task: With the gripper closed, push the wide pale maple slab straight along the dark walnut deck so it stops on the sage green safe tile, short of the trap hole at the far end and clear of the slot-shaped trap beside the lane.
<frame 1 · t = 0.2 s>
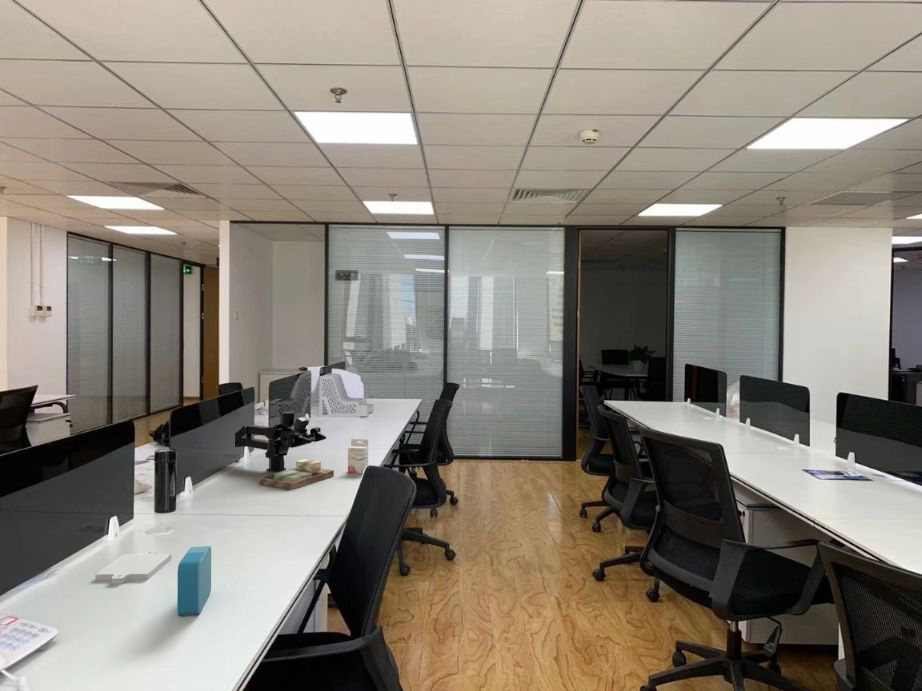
hand: (318, 439, 248), 17 cm above the table, tool horizontal, fingers open, 9 cm apart
maple slab: (308, 469, 252), point 2 cm above the table, touching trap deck
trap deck: (297, 479, 243), on the table
mounting plate: (135, 571, 149), on the table
ink cartridge box: (357, 472, 259), on the table
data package: (195, 605, 130), on the table
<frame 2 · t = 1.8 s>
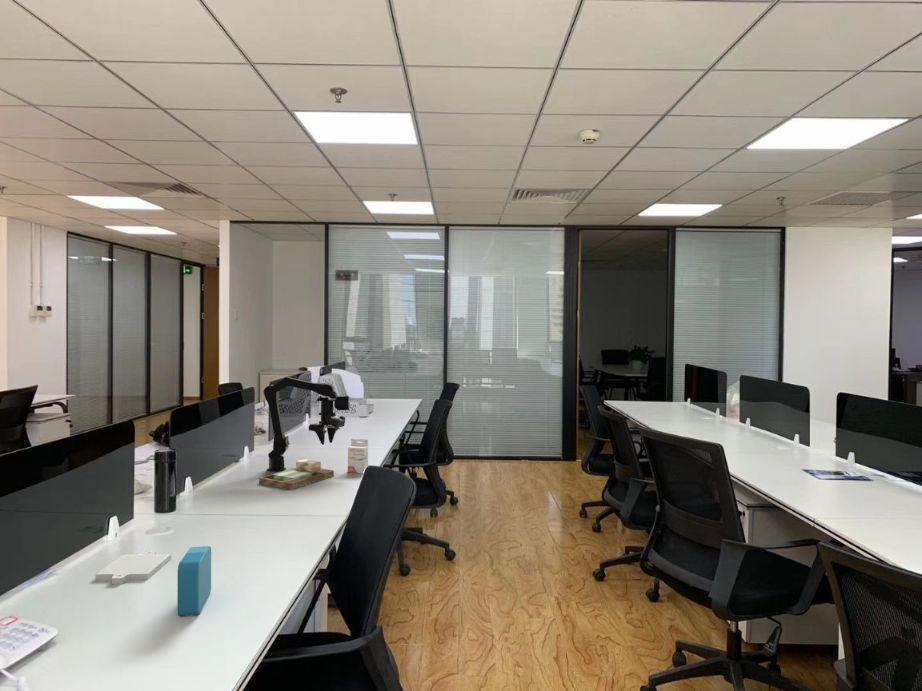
hand: (326, 443, 262), 12 cm above the table, tool pointing down, fingers open, 5 cm apart
nothing on the table moved.
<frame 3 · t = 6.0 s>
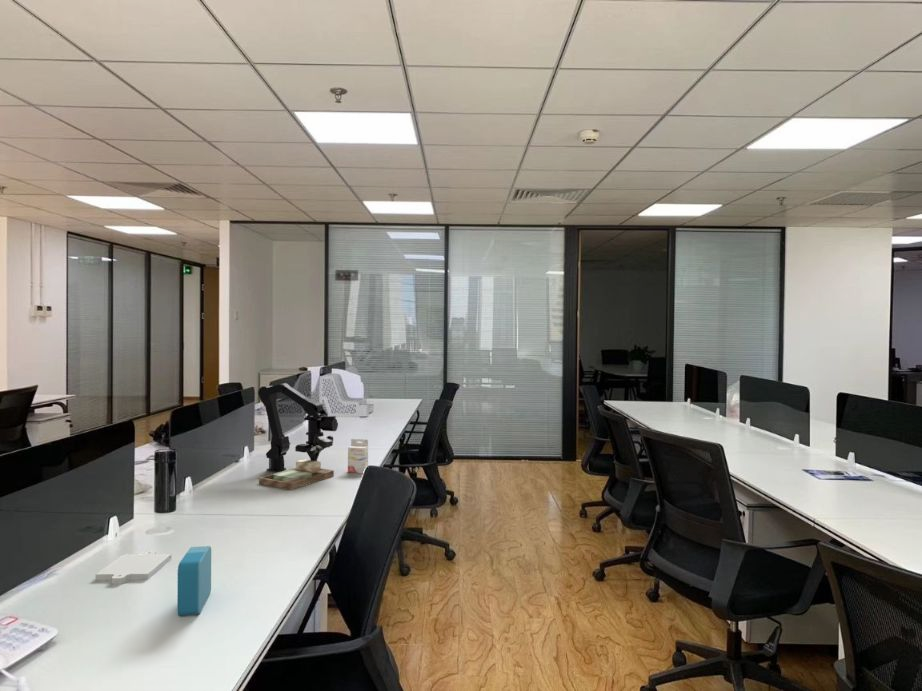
hand: (314, 464, 255), 4 cm above the table, tool pointing down, fingers closed
maple slab: (308, 469, 252), point 3 cm above the table, touching gripper
everything else where it was.
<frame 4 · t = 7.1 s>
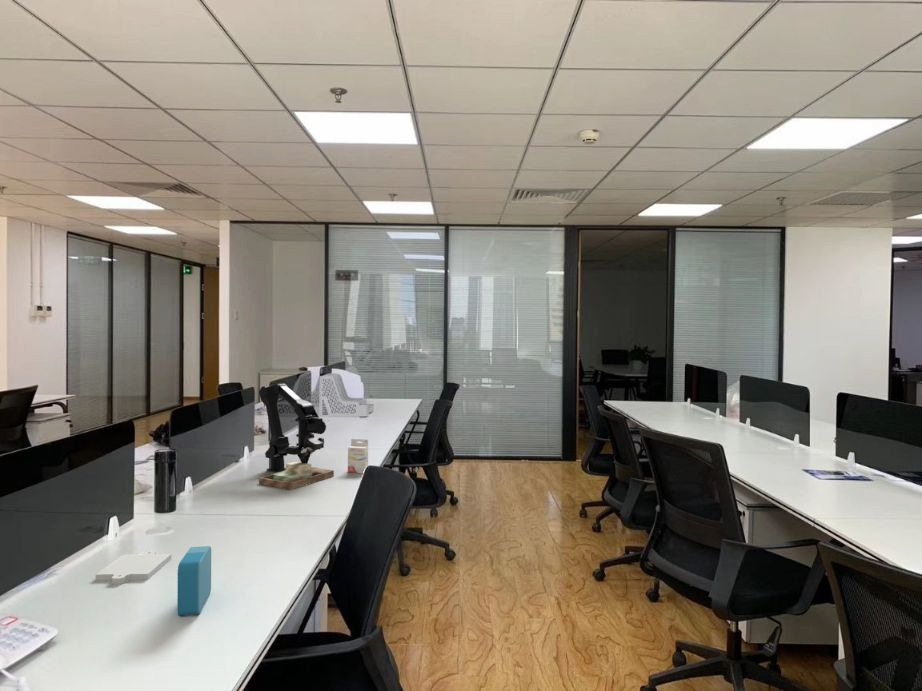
hand: (304, 466, 250), 4 cm above the table, tool pointing down, fingers closed
maple slab: (298, 472, 246), point 3 cm above the table, touching gripper, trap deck
everything else where it was.
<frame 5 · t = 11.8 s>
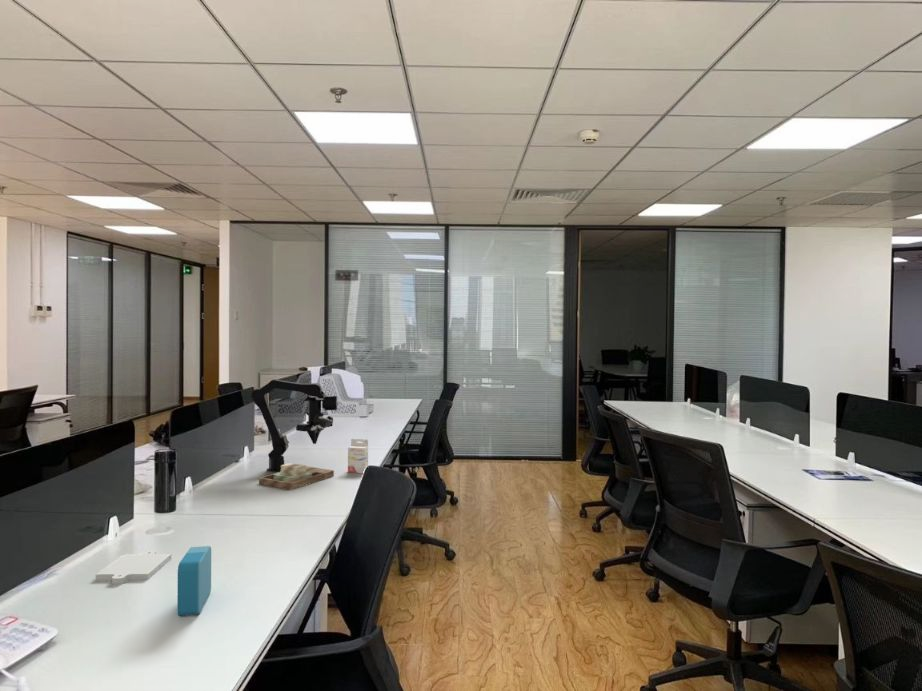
hand: (314, 443, 262), 12 cm above the table, tool pointing down, fingers closed
maple slab: (293, 473, 244), point 2 cm above the table, touching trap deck
everything else where it was.
at the end: maple slab inside the target area (0.8 cm from its centre), point 2.5 cm above the table; maple slab tilted 0° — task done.
